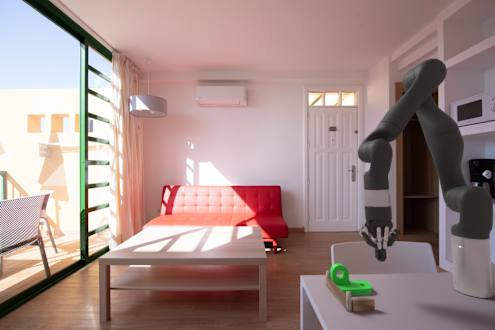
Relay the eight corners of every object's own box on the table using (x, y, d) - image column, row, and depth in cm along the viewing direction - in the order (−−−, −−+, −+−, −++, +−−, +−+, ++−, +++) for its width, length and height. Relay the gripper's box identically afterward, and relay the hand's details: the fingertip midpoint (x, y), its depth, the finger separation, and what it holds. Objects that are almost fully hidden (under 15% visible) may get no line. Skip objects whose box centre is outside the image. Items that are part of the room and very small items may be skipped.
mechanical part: (337, 296, 77) (337, 270, 78) (330, 288, 83) (329, 263, 84) (375, 295, 78) (374, 268, 78) (365, 286, 84) (364, 262, 84)
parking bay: (347, 284, 85) (347, 269, 85) (375, 310, 69) (374, 291, 69) (325, 285, 84) (325, 270, 85) (347, 311, 68) (347, 293, 69)
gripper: (390, 201, 82) (393, 255, 82) (351, 203, 81) (354, 258, 81) (406, 204, 75) (410, 263, 74) (363, 206, 74) (366, 266, 73)
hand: (380, 260), depth 77 cm, fingers closed
